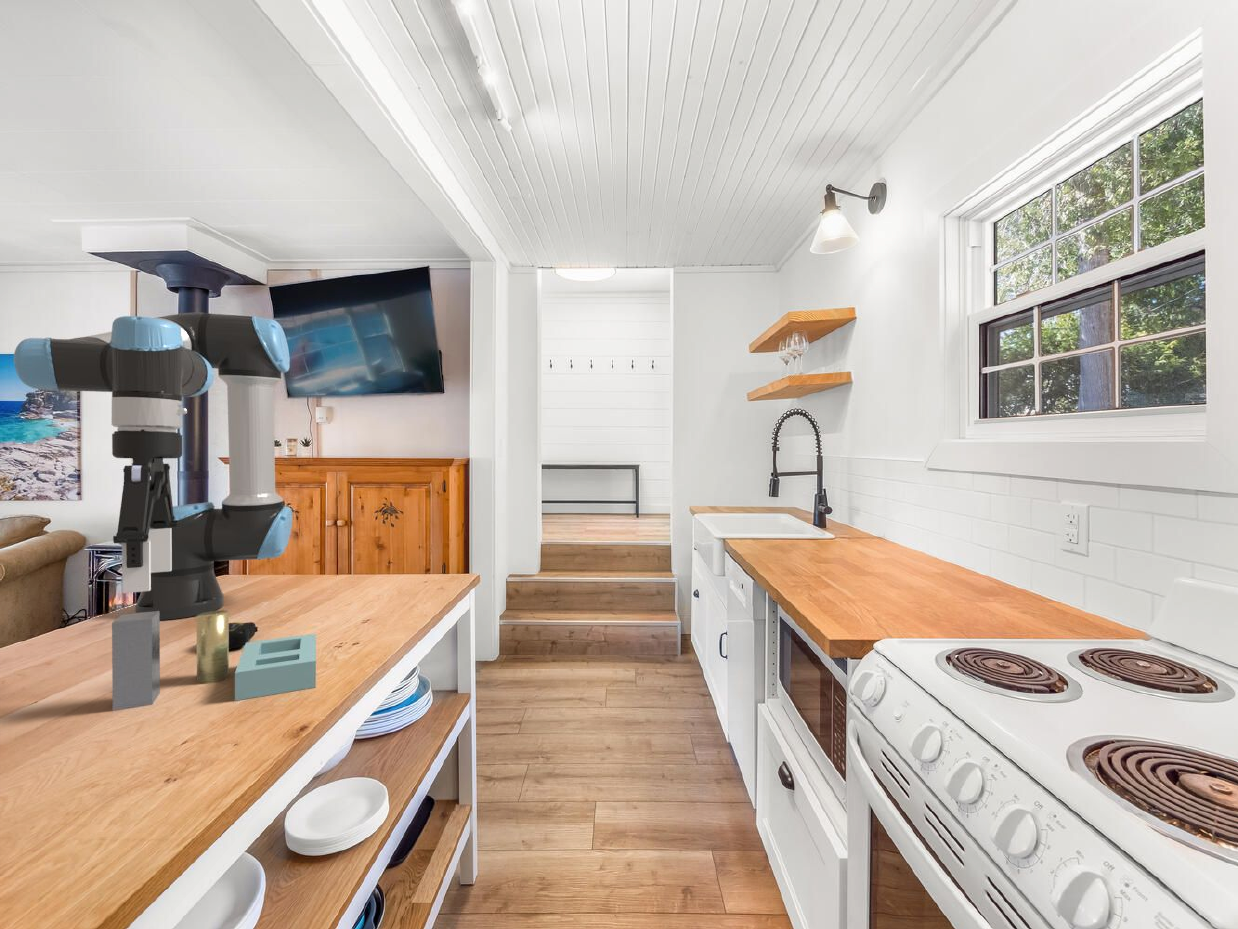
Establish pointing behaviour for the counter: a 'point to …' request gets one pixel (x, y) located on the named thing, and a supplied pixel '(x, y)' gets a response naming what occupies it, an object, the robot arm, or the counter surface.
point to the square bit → (135, 660)
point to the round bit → (212, 646)
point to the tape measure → (240, 633)
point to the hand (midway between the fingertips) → (149, 581)
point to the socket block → (276, 666)
